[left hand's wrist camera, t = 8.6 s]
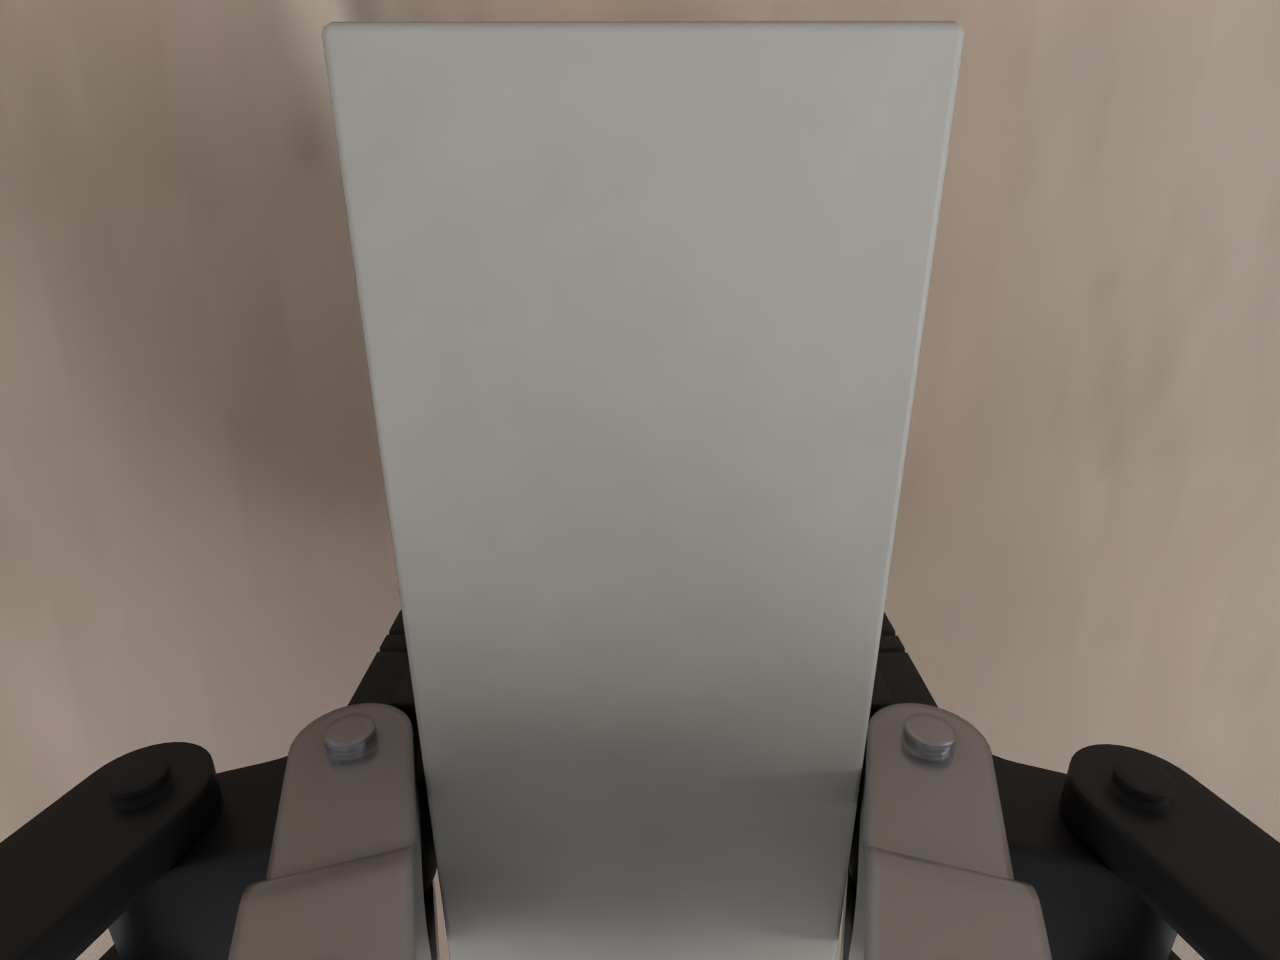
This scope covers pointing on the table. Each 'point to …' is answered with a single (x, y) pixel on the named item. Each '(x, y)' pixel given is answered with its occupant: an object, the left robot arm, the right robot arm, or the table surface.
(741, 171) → the bar
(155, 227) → the table surface
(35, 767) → the table surface
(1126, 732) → the table surface
